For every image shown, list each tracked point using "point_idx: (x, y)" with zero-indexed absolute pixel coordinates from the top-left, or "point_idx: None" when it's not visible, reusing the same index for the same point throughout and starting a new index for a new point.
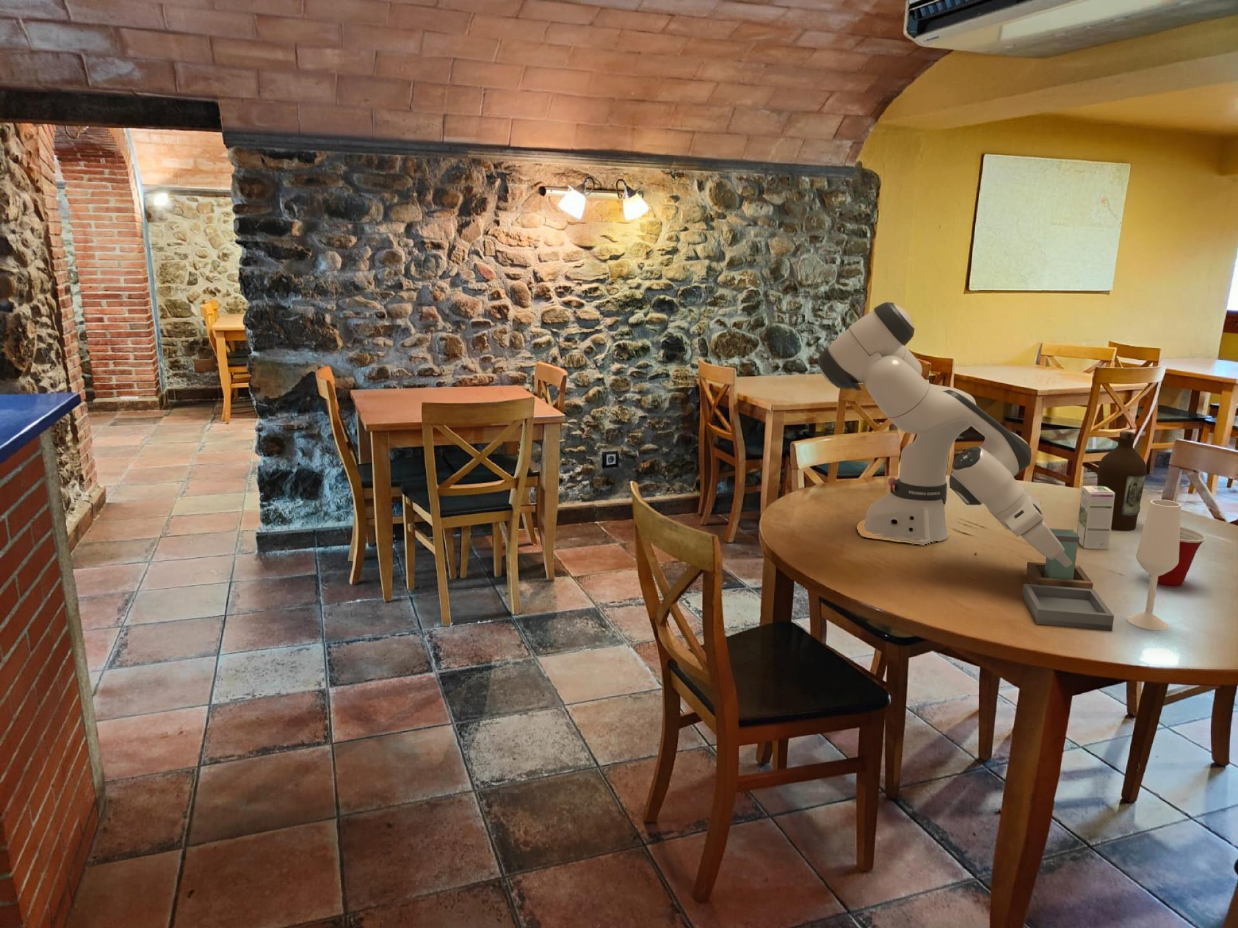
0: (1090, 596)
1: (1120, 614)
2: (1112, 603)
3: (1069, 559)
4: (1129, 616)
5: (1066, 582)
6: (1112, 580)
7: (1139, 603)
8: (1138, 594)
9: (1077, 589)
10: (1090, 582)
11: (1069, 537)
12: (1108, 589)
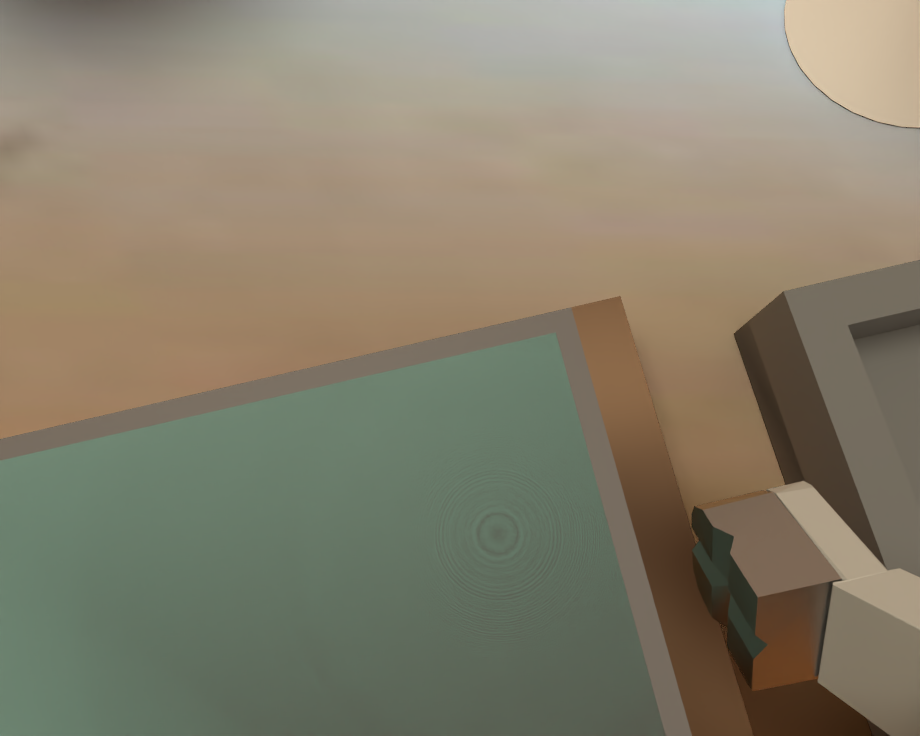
0: (864, 329)
1: (858, 163)
2: (660, 205)
3: (845, 528)
4: (884, 110)
5: (688, 530)
6: (159, 196)
7: (566, 55)
8: (388, 56)
9: (881, 431)
10: (601, 317)
11: (638, 578)
12: (369, 224)
